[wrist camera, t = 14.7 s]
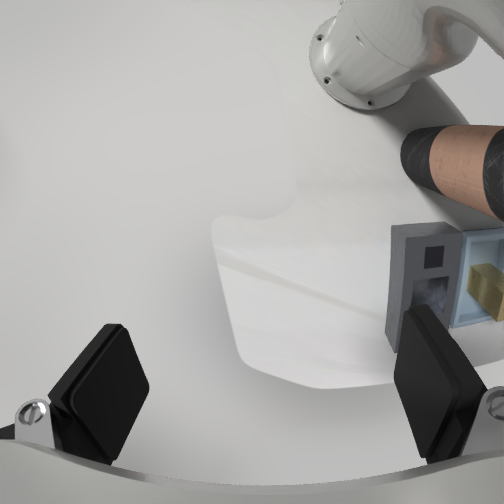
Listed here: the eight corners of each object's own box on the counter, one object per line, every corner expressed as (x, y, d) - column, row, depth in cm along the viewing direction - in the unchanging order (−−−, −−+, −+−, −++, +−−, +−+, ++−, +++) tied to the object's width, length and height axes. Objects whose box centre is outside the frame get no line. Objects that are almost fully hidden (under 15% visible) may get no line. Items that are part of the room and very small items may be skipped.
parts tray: (458, 231, 35) (467, 236, 33) (502, 227, 34) (512, 232, 31) (446, 319, 40) (452, 328, 37) (488, 310, 38) (495, 318, 36)
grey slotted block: (391, 225, 36) (405, 237, 31) (444, 221, 35) (463, 232, 30) (384, 332, 41) (394, 353, 36) (432, 324, 40) (445, 344, 35)
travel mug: (386, 155, 33) (484, 177, 14) (422, 113, 31) (532, 104, 12) (424, 199, 34) (527, 255, 15) (458, 158, 32) (570, 185, 13)
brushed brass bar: (470, 265, 36) (503, 293, 27) (489, 262, 35) (523, 288, 27) (466, 290, 37) (496, 321, 29) (485, 287, 37) (516, 316, 28)
